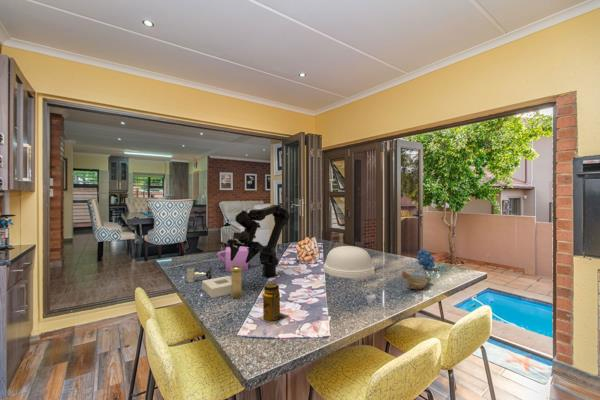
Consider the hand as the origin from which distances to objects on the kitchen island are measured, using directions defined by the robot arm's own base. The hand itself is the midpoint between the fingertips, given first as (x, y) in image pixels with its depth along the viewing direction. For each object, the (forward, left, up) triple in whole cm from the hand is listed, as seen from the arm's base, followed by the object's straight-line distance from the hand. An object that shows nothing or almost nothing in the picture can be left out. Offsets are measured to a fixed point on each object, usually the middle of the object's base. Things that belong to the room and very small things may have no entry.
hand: (238, 261), depth 129 cm
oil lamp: (-71, +49, -14) cm, 87 cm away
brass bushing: (+4, +8, -13) cm, 16 cm away
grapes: (-104, +34, -13) cm, 111 cm away
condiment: (+2, +35, -14) cm, 38 cm away
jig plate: (+7, -4, -13) cm, 15 cm away
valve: (+11, -25, -14) cm, 30 cm away
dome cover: (-66, +8, -14) cm, 68 cm away
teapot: (-16, -37, -14) cm, 42 cm away
